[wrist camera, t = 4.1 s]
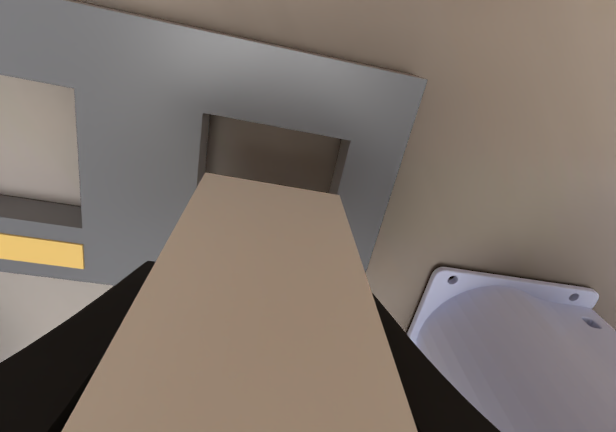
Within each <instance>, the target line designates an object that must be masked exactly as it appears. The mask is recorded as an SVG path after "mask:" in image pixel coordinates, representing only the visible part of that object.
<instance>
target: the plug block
mask: <svg viewBox="0 0 616 432" xmlns="http://www.w3.org/2000/svg"><path fill="white" fill-rule="evenodd" d="M61 432H418V431H417V428H416V425H415V422H414V419H413V416H412V413H411V410H410V407H409V404H408V401H407V398H406V395H405V392H404V389H403V386H402V383H401V380H400V377H399V373H398V370H397V367H396V364H395V361H394V358H393V355H392V352H391V349H390V346H389V343H388V340H387V337H386V334H385V331H384V328H383V325H382V322H381V319H380V316H379V313H378V310H377V307H376V304H375V301H374V298H373V295H372V292H371V289H370V286H369V283H368V280H367V277H366V274H365V271H364V268H363V265H362V262H361V259H360V256H359V253H358V250H357V247H356V244H355V241H354V238H353V235H352V232H351V229H350V225H349V222H348V219H347V216H346V213H345V210H344V207H343V204H342V201H341V198H340V195H336V194H330V193H324V192H318V191H312V190H306V189H300V188H294V187H288V186H282V185H276V184H270V183H265V182H259V181H253V180H247V179H241V178H235V177H229V176H223V175H217V174H211V173H205V174H204V175H203V177H202V179H201V181H200V183H199V184H198V186H197V188H196V190H195V192H194V194H193V195H192V197H191V199H190V201H189V203H188V204H187V206H186V208H185V210H184V212H183V213H182V215H181V217H180V219H179V221H178V222H177V224H176V226H175V228H174V230H173V231H172V233H171V235H170V237H169V239H168V240H167V242H166V244H165V246H164V248H163V249H162V251H161V253H160V255H159V257H158V258H157V260H156V262H155V264H154V266H153V267H152V269H151V271H150V273H149V275H148V276H147V278H146V280H145V282H144V284H143V285H142V287H141V289H140V291H139V293H138V294H137V296H136V298H135V300H134V302H133V303H132V305H131V307H130V309H129V311H128V313H127V314H126V316H125V318H124V320H123V322H122V323H121V325H120V327H119V329H118V331H117V332H116V334H115V336H114V338H113V340H112V341H111V343H110V345H109V347H108V349H107V350H106V352H105V354H104V356H103V358H102V359H101V361H100V363H99V365H98V367H97V368H96V370H95V372H94V374H93V376H92V377H91V379H90V381H89V383H88V385H87V386H86V388H85V390H84V392H83V394H82V395H81V397H80V399H79V401H78V403H77V404H76V406H75V408H74V410H73V412H72V413H71V415H70V417H69V419H68V421H67V422H66V424H65V426H64V428H63V430H62V431H61Z"/></svg>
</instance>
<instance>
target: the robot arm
mask: <svg viewBox="0 0 616 432" xmlns="http://www.w3.org/2000/svg"><path fill="white" fill-rule="evenodd" d="M154 264H155V262H154V261H146V262H145V263H143V264H142V265H141V266H139V267H138V268H137V269H135V270H134V271H133V272H132V273H130V274H129V275H128V276H126V277H125V278H124V279H122V280H121V281H120V282H119V283H117V284H116V285H115V286H113V287H112V288H111V289H109V290H108V291H107V292H105V293H104V294H103V295H101V296H100V297H99V298H97V299H96V300H94V301H93V302H92V303H90V304H89V305H88V306H86V307H85V308H83V309H82V310H81V311H79V312H78V313H77V314H75V315H74V316H72V317H71V318H69V319H68V320H67V321H65V322H64V323H62V324H61V325H59V326H57V327H56V328H54V329H53V330H51V331H50V332H48V333H47V334H45V335H44V336H42V337H41V338H39V339H38V340H36V341H35V342H33V343H32V344H30V345H29V346H27V347H25V348H24V349H22V350H21V351H19V352H17V353H16V354H14V355H12V356H11V357H9V358H8V359H6V360H4V361H3V362H1V363H0V432H61V431H62V430H63V428H64V426H65V424H66V422H67V421H68V419H69V417H70V415H71V413H72V412H73V410H74V408H75V406H76V404H77V403H78V401H79V399H80V397H81V395H82V394H83V392H84V390H85V388H86V386H87V385H88V383H89V381H90V379H91V377H92V376H93V374H94V372H95V370H96V368H97V367H98V365H99V363H100V361H101V359H102V358H103V356H104V354H105V352H106V350H107V349H108V347H109V345H110V343H111V341H112V340H113V338H114V336H115V334H116V332H117V331H118V329H119V327H120V325H121V323H122V322H123V320H124V318H125V316H126V314H127V313H128V311H129V309H130V307H131V305H132V303H133V302H134V300H135V298H136V296H137V294H138V293H139V291H140V289H141V287H142V285H143V284H144V282H145V280H146V278H147V276H148V275H149V273H150V271H151V269H152V267H153V266H154ZM451 276H454V278H452V279H451V280H448V279H449V277H451ZM372 295H373V298H374V301H375V304H376V307H377V310H378V313H379V316H380V319H381V322H382V325H383V328H384V331H385V334H386V337H387V340H388V343H389V346H390V349H391V352H392V355H393V358H394V361H395V364H396V367H397V370H398V373H399V377H400V380H401V383H402V386H403V389H404V392H405V395H406V398H407V401H408V404H409V407H410V410H411V413H412V416H413V419H414V422H415V425H416V428H417V431H418V432H616V330H615V329H613V328H612V327H611V326H610V325H609V324H608V323H607V322H606V321H605V320H604V319H602V318H601V317H600V316H599V315H598V314H597V313H596V312H595V311H594V310H593V309H592V308H593V307H594V305H595V304H596V302H597V301H598V299H599V294H598V293H597V292H596V291H595V290H593V289H591V288H586V287H579V286H572V285H565V284H558V283H552V282H545V281H538V280H531V279H524V278H517V277H511V276H504V275H497V274H490V273H483V272H476V271H470V270H463V269H456V268H449V267H439V268H437V269H435V270H434V271H433V273H432V275H431V277H430V280H429V282H428V284H427V287H426V289H425V292H424V294H423V297H422V299H421V301H420V304H419V306H418V309H417V311H416V314H415V316H414V318H413V321H412V323H411V326H410V328H409V331H408V333H407V334H406V333H405V332H404V331H403V329H402V328H401V327H400V326H399V325H398V323H397V322H396V321H395V320H394V318H393V317H392V316H391V315H390V314H389V312H388V311H387V310H386V309H385V308H384V306H383V305H382V304H381V303H380V301H379V300H378V299H377V298H376V297H375V296H374V294H373V293H372Z"/></svg>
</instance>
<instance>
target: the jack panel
mask: <svg viewBox="0 0 616 432" xmlns="http://www.w3.org/2000/svg"><path fill="white" fill-rule="evenodd" d="M0 75H5V76H10V77H16V78H21V79H26V80H32V81H37V82H42V83H47V84H53V85H58V86H63V87H69V88H74V94H75V111H76V128H77V145H78V162H79V179H80V196H81V207H79V206H72V205H65V204H58V203H52V202H45V201H38V200H32V199H25V198H18V197H11V196H5V195H0V271H1V272H9V273H17V274H25V275H33V276H41V277H49V278H57V279H66V280H74V281H82V282H90V283H98V284H106V285H114V286H115V285H116V284H117V283H119V282H120V281H121V280H122V279H124V278H125V277H126V276H128V275H129V274H130V273H132V272H133V271H134V270H135V269H137V268H138V267H139V266H141V265H142V264H143V263H145V262H146V261H154V262H156V260H157V258H158V257H159V255H160V253H161V251H162V249H163V248H164V246H165V244H166V242H167V240H168V239H169V237H170V235H171V233H172V231H173V230H174V228H175V226H176V224H177V222H178V221H179V219H180V217H181V215H182V213H183V212H184V210H185V208H186V206H187V204H188V203H189V201H190V199H191V197H192V195H193V194H194V192H195V190H196V188H197V186H198V184H199V183H200V181H201V179H202V177H203V175H204V174H205V166H206V155H207V145H208V134H209V123H210V114H211V115H217V116H222V117H227V118H233V119H238V120H243V121H248V122H254V123H259V124H264V125H270V126H275V127H280V128H286V129H291V130H296V131H301V132H307V133H312V134H317V135H323V136H328V137H333V138H338V139H342V141H341V145H340V149H339V153H338V157H337V161H336V165H335V169H334V173H333V177H332V182H331V186H330V190H329V193H330V194H336V195H340V198H341V201H342V204H343V207H344V210H345V213H346V216H347V219H348V222H349V225H350V229H351V232H352V235H353V238H354V241H355V244H356V247H357V250H358V253H359V256H360V259H361V262H362V265H363V268H364V271H365V273H366V270H367V267H368V264H369V261H370V258H371V255H372V252H373V249H374V245H375V242H376V239H377V236H378V233H379V230H380V227H381V224H382V221H383V217H384V214H385V211H386V208H387V205H388V202H389V199H390V196H391V193H392V189H393V186H394V183H395V180H396V177H397V174H398V171H399V168H400V165H401V161H402V158H403V155H404V152H405V149H406V146H407V143H408V140H409V136H410V133H411V130H412V127H413V124H414V121H415V118H416V115H417V112H418V108H419V105H420V102H421V99H422V96H423V93H424V90H425V87H426V84H427V79H424V78H421V77H418V76H416V75H413V74H408V73H404V72H399V71H395V70H390V69H386V68H381V67H376V66H372V65H367V64H363V63H358V62H354V61H349V60H344V59H340V58H335V57H331V56H326V55H322V54H317V53H313V52H308V51H303V50H299V49H294V48H290V47H285V46H281V45H276V44H271V43H267V42H262V41H258V40H253V39H249V38H244V37H240V36H235V35H230V34H226V33H221V32H217V31H212V30H208V29H203V28H199V27H194V26H189V25H185V24H180V23H176V22H171V21H167V20H162V19H157V18H153V17H148V16H144V15H139V14H135V13H130V12H126V11H121V10H116V9H112V8H107V7H103V6H98V5H94V4H89V3H84V2H80V1H75V0H0Z"/></svg>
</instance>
